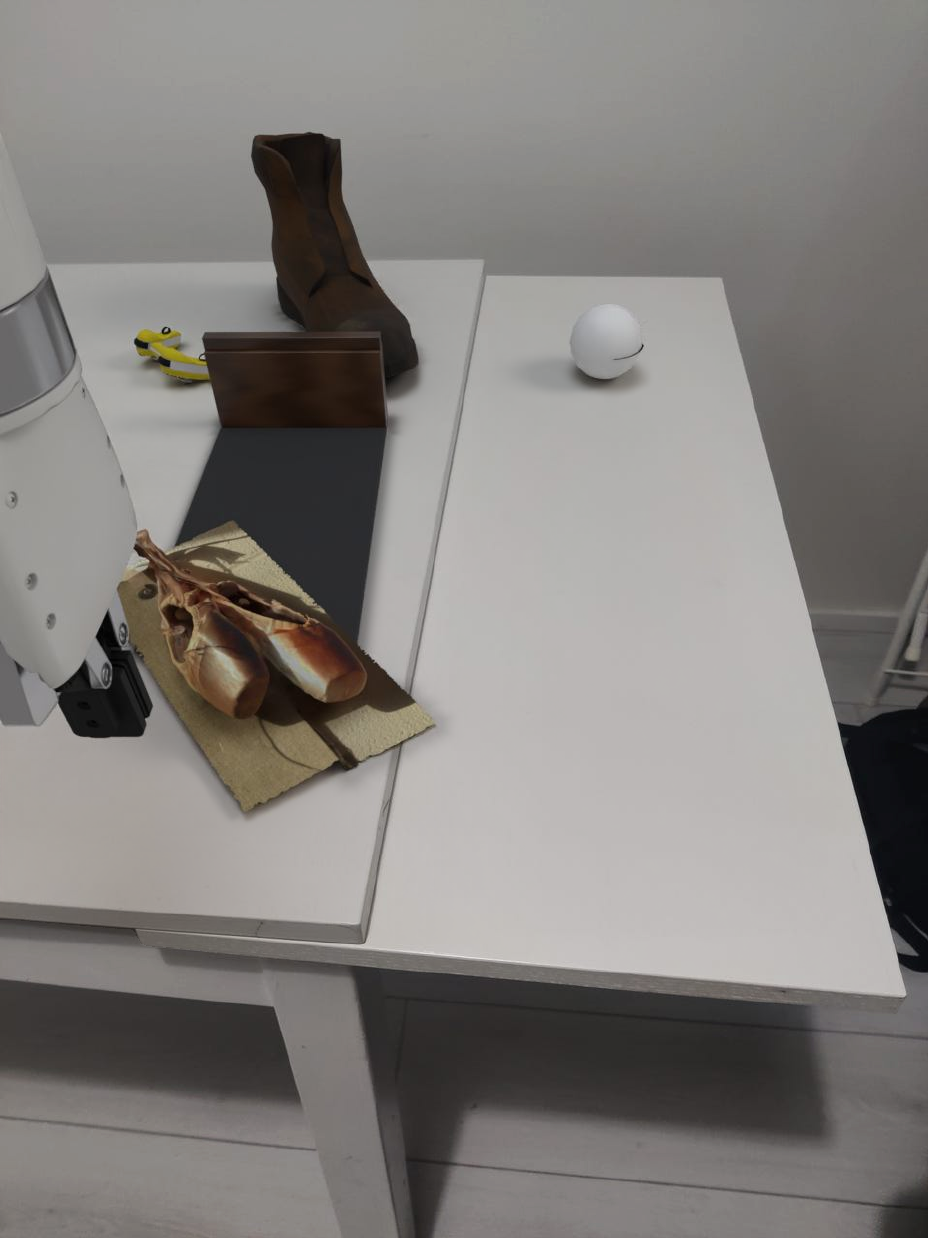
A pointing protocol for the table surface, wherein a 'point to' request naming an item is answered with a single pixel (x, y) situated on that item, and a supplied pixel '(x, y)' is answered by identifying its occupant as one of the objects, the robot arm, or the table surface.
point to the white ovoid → (606, 341)
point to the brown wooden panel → (297, 379)
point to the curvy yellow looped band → (170, 355)
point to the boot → (324, 246)
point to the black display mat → (298, 505)
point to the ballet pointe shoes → (258, 665)
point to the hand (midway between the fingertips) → (115, 722)
